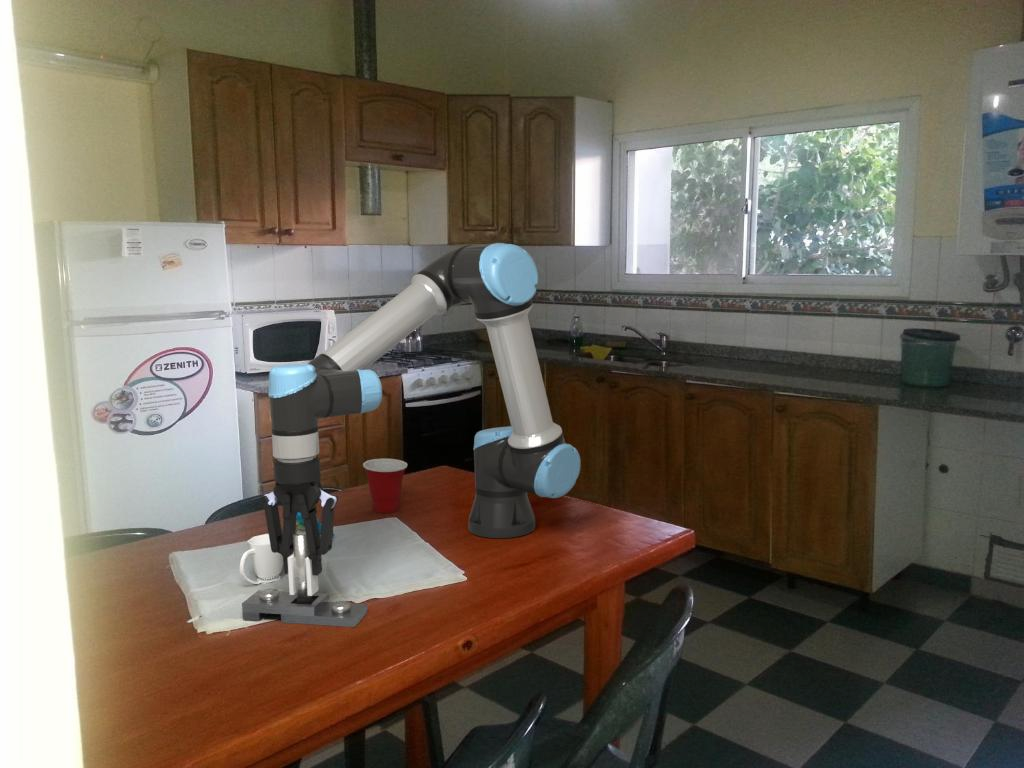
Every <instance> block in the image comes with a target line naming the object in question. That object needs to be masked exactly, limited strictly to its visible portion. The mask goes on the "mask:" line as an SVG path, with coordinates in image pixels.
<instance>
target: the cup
mask: <svg viewBox="0 0 1024 768" xmlns="http://www.w3.org/2000/svg"><path fill="white" fill-rule="evenodd" d="M246 543H247V546H248V550H246V551H245V552H244V553H243V554H242V557H241V558H240V562H239V563H240V564H239V573H240V577H241V578H242V579H243V580H245V581H246V582H248V583H250V584H255V585H260V584H259V583H261V582H272V581H276V580H278V579H279V578H280V577H281V576H280V574H281V573H282V569H283V556H282V555H281V554H280V553H277V552H276V553H273V552H272V550H271V545H270V539H269V534H268V533H264V534H259V535H255V536H252V537H251V538H250V539H248V540H247V541H246ZM248 555H250V560H251V563H252V564H251V565H252V567H253V571H254V573H255V575H256V576H257V578H256V581H254V580H251V579H249V578H248V577H247V576H246V574H245V564H246V563H245V562H246V560H247V557H248ZM271 577H272V579H271ZM273 577H274V578H273ZM262 578H270V579H267V580H266V579H265V580H264V579H262ZM280 579H281V578H280ZM280 579H279V580H280ZM257 580H258V581H257ZM279 580H278V581H279Z"/></svg>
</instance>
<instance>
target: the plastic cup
mask: <svg viewBox="0 0 1024 768" xmlns="http://www.w3.org/2000/svg"><path fill="white" fill-rule="evenodd" d="M362 466H363V468H364V470H365V474H366V478H367V481H368V482H367V483H368V488H369V491H370V497H371V501H372V505H373V509H374V512H375V513H379V514H390V513H394V512H397V511H399V506H400V497H401V494H402V493H401V492H402V486H403V485H402V484H403V481H404V480H403V478H404V475H405V472H406V471H405V470H406V469H407V467H408V463H407V462H406V461H404V460H402V459H401V460H400V459H394V458H373V459H368V460H366V461H365V462H363V463H362Z"/></svg>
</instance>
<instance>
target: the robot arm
mask: <svg viewBox="0 0 1024 768" xmlns="http://www.w3.org/2000/svg"><path fill="white" fill-rule="evenodd" d="M538 285H539V271H538V268H537V265H536V263H535V260H534V258H533V257H532V256H531V254H529V252H528V251H526V250H525V249H524V248H522V247H521V246H519V245H516V244H512V243H504V242H503V243H502V242H495V243H485V244H476V245H475V244H474V245H472V244H470V245H469V244H468V245H467V244H466V245H462V246H458V247H455V248H453V249H451V250H449V251H447V252H445V253H444V254H442V255H441V256H439V257H437V258H436V259H434V260H433V261H432V262H430V263H429V264H428V265H426V266H425V267H424V268H422V269H421V270H419V271H418V272H417V273H416V274H414V276H413V277H412V278H411V281H410V285H409V286H407V287H406V288H405V289H403V290H402V291H401V292H399V293H398V294H397V295H395V296H394V297H393V298H391V299H390V300H389V301H388V302H386V303H385V304H384V305H383V306H381V307H380V308H379V309H377V310H376V311H374V312H373V313H372V314H371V315H369V316H368V317H367V318H366V319H364V320H363V321H362V322H361V323H359V324H358V325H357V326H355V327H354V328H352V330H350V331H348V332H347V333H346V334H345V335H344V336H342V337H340V338H339V339H338V340H337V341H335V343H333V344H332V345H330V346H329V347H328V348H327V349H325V350H323V352H322V353H320V354H319V355H317V356H316V357H314V358H313V359H312V360H310V361H309V362H308V363H287V364H278V365H276V366H273V367H272V368H271V369H270V371H269V373H268V393H267V394H268V397H269V407H270V409H269V410H270V421H271V439H272V440H271V441H272V442H271V443H272V457H274V459H275V460H274V461H273V476H274V477H273V478H274V482H275V484H274V487H273V491H271V492H268V493H266V494H264V495H262V496H260V497H259V502H260V504H261V507H262V508H263V510H264V515H265V521H266V527H267V532H268V533H267V534H269V539H270V545H271V550H272V552H273V553H276V552H277V553H280V554H281V555H282V556H283V564H282V569H283V573H284V575H288V588H289V590H288V592H290V595H294V594H296V580H295V563H294V545H293V534H294V533H296V532H297V531H296V530H297V529H296V528H297V525H296V523H297V520H296V516H297V513H298V512H299V513H301V517H302V519H303V520H304V526H305V531H306V537H307V542H308V548H309V553H310V555H309V556H308V557H307V558H306V575H307V593H308V596H312V595H313V594H315V593H318V591H319V580H318V579H319V575H320V574H321V573H322V571H323V563H322V562H323V561H322V555H323V556H324V555H326V554H328V552H330V551H331V550H332V549H333V538H334V537H333V533H334V532H333V531H334V524H335V523H334V521H335V508H336V506H337V503H338V501H339V496H338V495H337V494H333V495H331V494H329V493H328V492H325V491H324V487H323V484H322V483H321V481H322V478H321V477H322V476H321V475H322V473H321V472H322V471H321V458H319V456H318V455H319V454H320V441H319V438H320V437H319V419H321V420H322V419H327V418H332V417H333V418H334V417H341V416H349V415H357V414H359V415H362V414H363V413H368V412H372V411H375V410H376V409H378V408H379V406H380V404H381V403H382V400H383V386H382V382H381V379H380V378H379V375H378V374H377V373H376V372H375V371H373V370H371V369H368V368H369V367H370V366H371V365H373V364H374V363H375V362H376V361H378V360H379V359H381V358H382V356H384V355H385V354H387V352H389V351H390V350H391V349H393V348H394V347H395V346H396V345H398V344H399V343H400V342H402V341H403V340H404V339H405V338H407V337H408V336H409V335H410V334H412V333H413V332H414V331H415V330H416V329H418V328H419V327H421V325H423V324H424V323H425V322H426V321H428V320H429V319H430V318H431V317H433V316H434V315H435V316H436V315H437V316H442V315H444V314H445V313H446V312H447V311H449V310H450V309H452V308H453V307H456V306H460V305H464V304H472V307H473V311H474V314H475V315H474V316H475V318H476V320H477V321H478V322H480V323H482V324H483V325H485V326H486V327H485V328H486V331H487V335H488V338H489V344H490V346H491V351H492V354H493V359H494V362H495V366H496V370H497V374H498V379H499V383H500V386H501V390H502V394H503V395H502V396H503V399H504V403H505V407H506V410H507V414H508V419H509V423H510V425H509V426H500V427H499V426H498V427H492V428H491V427H490V428H487V429H482V430H479V431H477V432H476V434H475V435H474V440H473V442H474V443H473V462H474V464H473V465H474V483H475V484H474V487H475V494H474V495H475V497H474V499H473V503H472V506H471V510H470V513H469V516H468V531H469V532H470V533H471V534H473V535H475V536H479V537H482V538H487V539H510V538H511V539H512V538H517V537H518V538H519V537H521V536H525V535H528V534H531V533H533V532H534V531H535V529H536V517H535V513H534V510H533V508H532V505H531V503H530V500H529V497H528V493H529V494H534V495H537V496H538V497H540V498H551V499H556V498H561V497H563V496H565V495H566V494H568V493H569V492H570V491H571V490H572V488H573V487H574V486H575V484H576V482H577V479H578V478H579V475H580V471H581V462H582V461H581V457H580V456H581V455H580V454H579V452H578V450H577V448H576V447H574V446H573V445H571V444H570V443H566V441H565V438H564V437H565V436H564V433H563V429H562V427H561V426H560V425H559V424H557V423H555V422H554V421H553V417H552V414H551V413H552V412H551V409H550V405H549V400H548V396H547V393H546V392H547V391H546V388H545V384H544V380H543V376H542V371H541V366H540V362H539V359H538V353H537V349H536V345H535V341H534V337H533V333H532V328H531V325H530V320H529V316H528V315H529V312H530V311H531V310H532V308H533V306H534V304H533V300H532V298H533V297H534V296H535V294H536V292H537V288H536V287H537V286H538ZM320 500H321V504H320V505H321V507H322V509H321V510H322V511H321V520H320V521H321V522H320V524H321V536H320V534H319V529H318V523H317V519H318V518H317V512H318V511H317V504H318V503H319V501H320ZM278 503H280V505H281V506H282V518H283V523H282V522H281V517H280V511H279V506H278ZM281 523H282V524H281Z"/></svg>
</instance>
